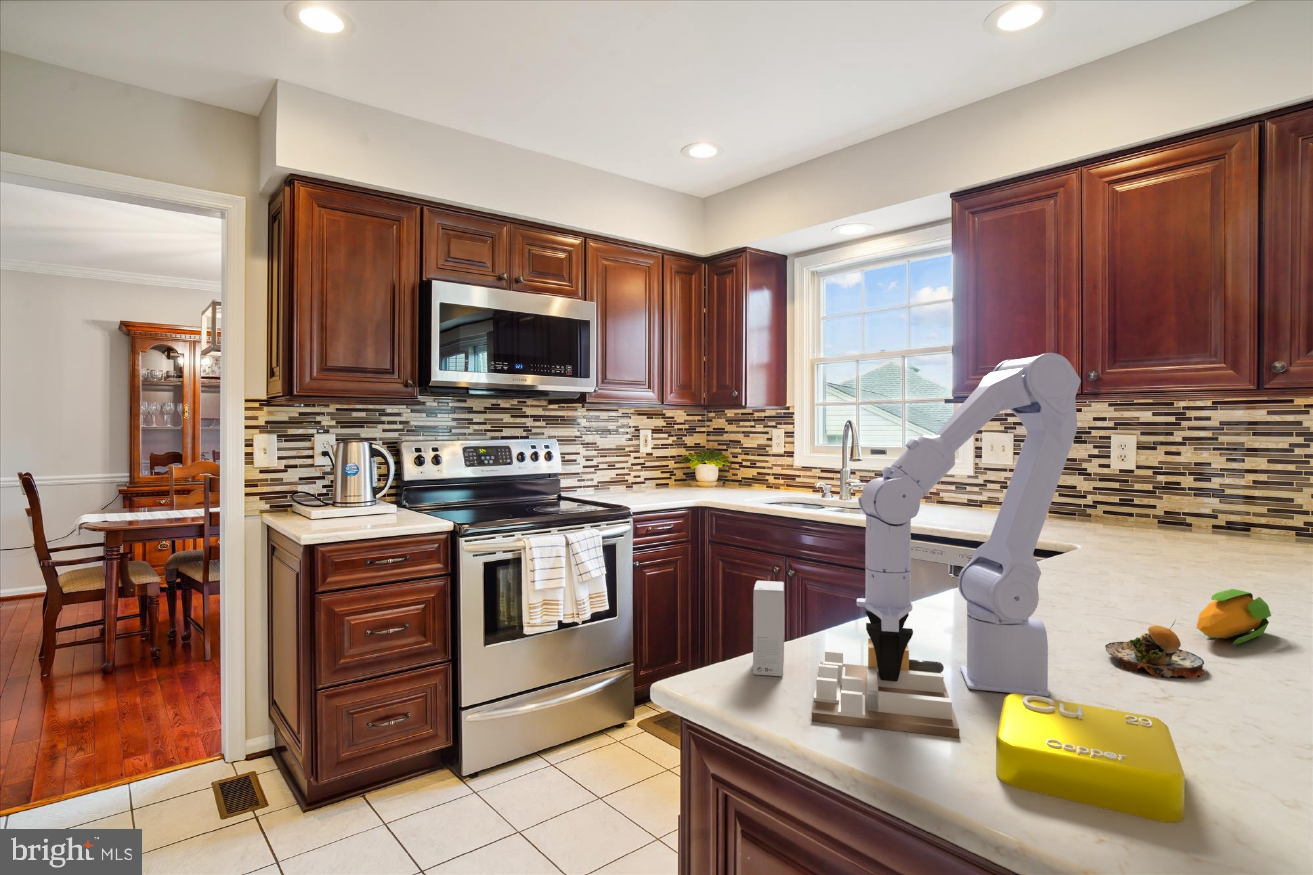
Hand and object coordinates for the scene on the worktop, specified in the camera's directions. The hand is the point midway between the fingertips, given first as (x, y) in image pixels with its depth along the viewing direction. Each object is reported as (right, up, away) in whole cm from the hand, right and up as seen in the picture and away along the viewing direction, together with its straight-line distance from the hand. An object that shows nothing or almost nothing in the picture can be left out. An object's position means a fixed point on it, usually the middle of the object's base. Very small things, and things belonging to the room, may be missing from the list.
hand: (887, 670), depth 91 cm
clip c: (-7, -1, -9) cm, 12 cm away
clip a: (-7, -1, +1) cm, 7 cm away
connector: (+2, -1, 0) cm, 2 cm away
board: (-2, -2, -4) cm, 5 cm away
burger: (+41, -2, +8) cm, 42 cm away
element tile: (+12, -3, -22) cm, 25 cm away
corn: (+62, -2, +19) cm, 65 cm away
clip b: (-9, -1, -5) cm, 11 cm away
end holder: (0, -1, -7) cm, 7 cm away
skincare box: (-15, -2, +7) cm, 16 cm away
